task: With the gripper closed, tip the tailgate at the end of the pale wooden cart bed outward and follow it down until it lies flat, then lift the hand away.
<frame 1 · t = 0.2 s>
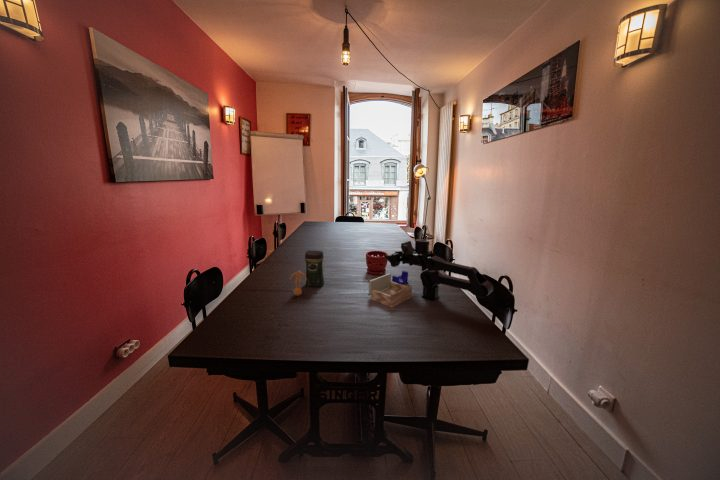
hand: (389, 254, 157), 17 cm above the table, tool horizontal, fingers open, 9 cm apart
figurine: (298, 294, 144), on the table
plant pot: (376, 272, 178), on the table
tailgate: (379, 284, 145), point 5 cm above the table, hinge at 0.0°
cart bed: (390, 298, 142), on the table
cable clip: (398, 284, 162), on the table
coffee jar: (314, 284, 157), on the table
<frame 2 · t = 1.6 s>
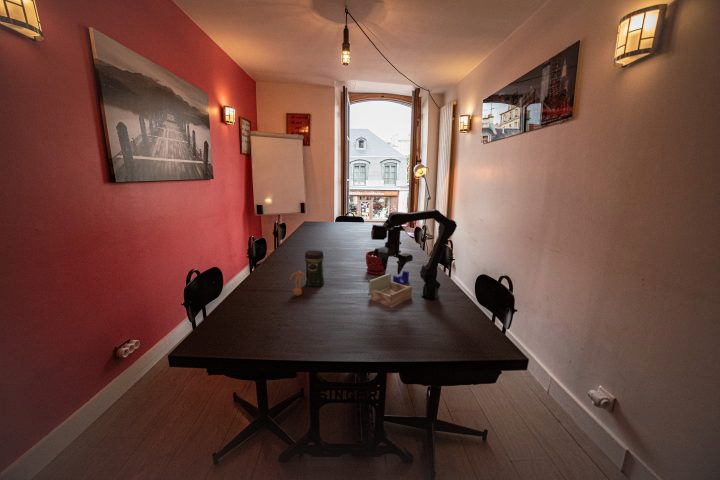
hand: (391, 272, 139), 13 cm above the table, tool pointing down, fingers open, 8 cm apart
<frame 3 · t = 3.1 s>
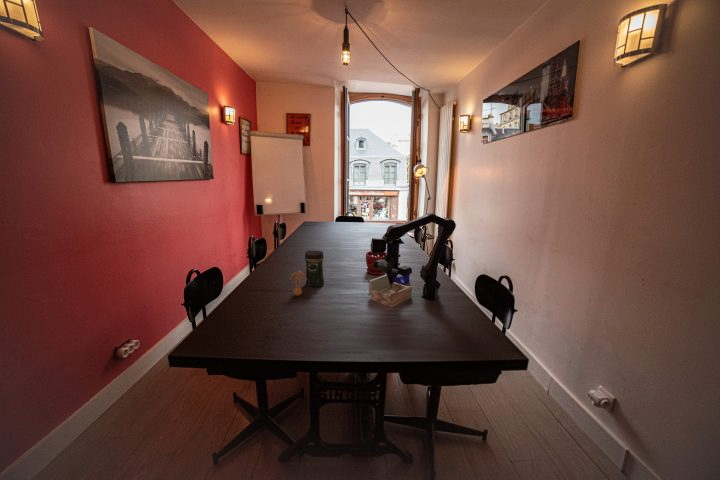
hand: (391, 284, 140), 7 cm above the table, tool pointing down, fingers closed
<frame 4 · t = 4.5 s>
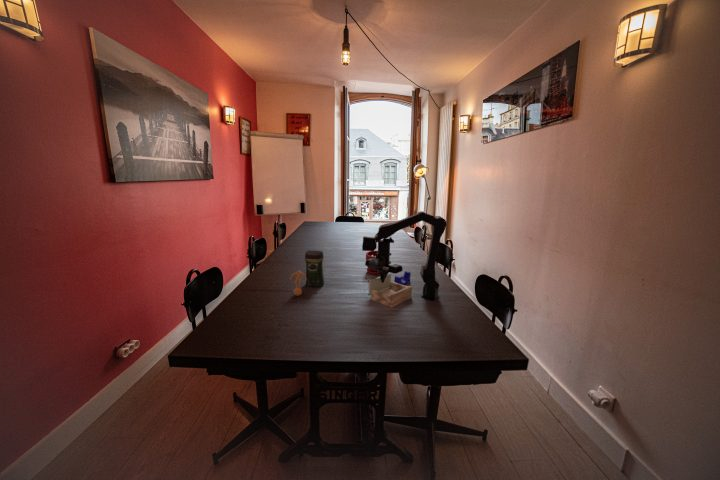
hand: (382, 282, 144), 7 cm above the table, tool pointing down, fingers closed
tailgate: (379, 284, 145), point 5 cm above the table, hinge at 1.7°, touching gripper
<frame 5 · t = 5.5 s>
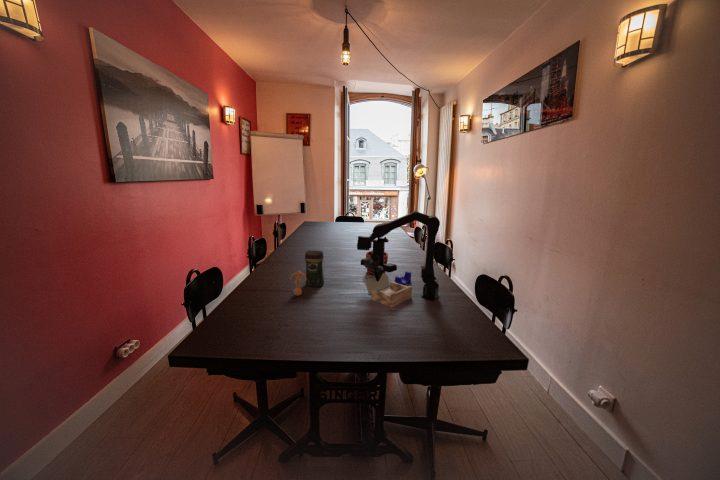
hand: (377, 281, 146), 6 cm above the table, tool pointing down, fingers closed, pressing on tailgate
tailgate: (377, 283, 146), point 5 cm above the table, hinge at 27.9°, touching gripper
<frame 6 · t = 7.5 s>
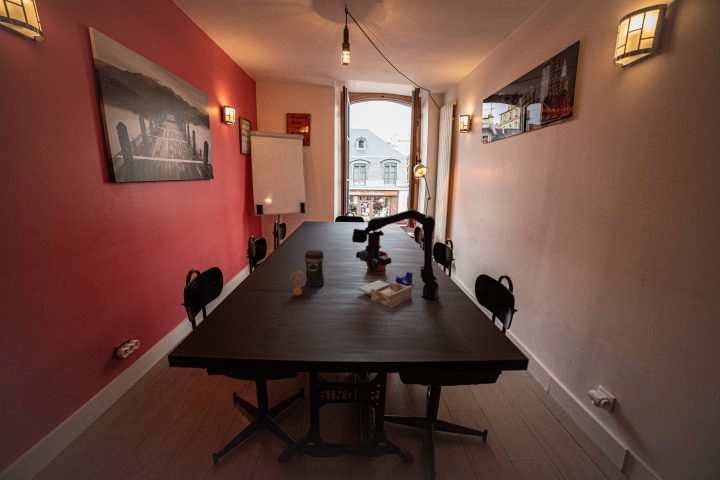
hand: (372, 274, 148), 9 cm above the table, tool pointing down, fingers closed
tailgate: (374, 287, 148), point 2 cm above the table, hinge at 86.6°
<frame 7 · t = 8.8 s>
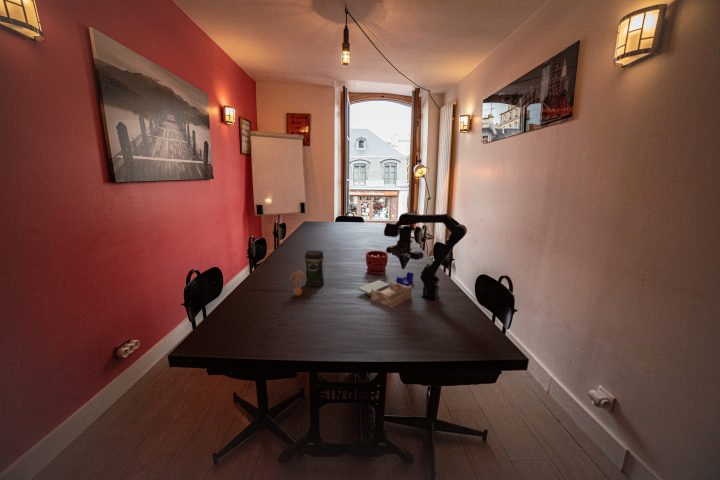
hand: (403, 268, 148), 12 cm above the table, tool pointing down, fingers closed
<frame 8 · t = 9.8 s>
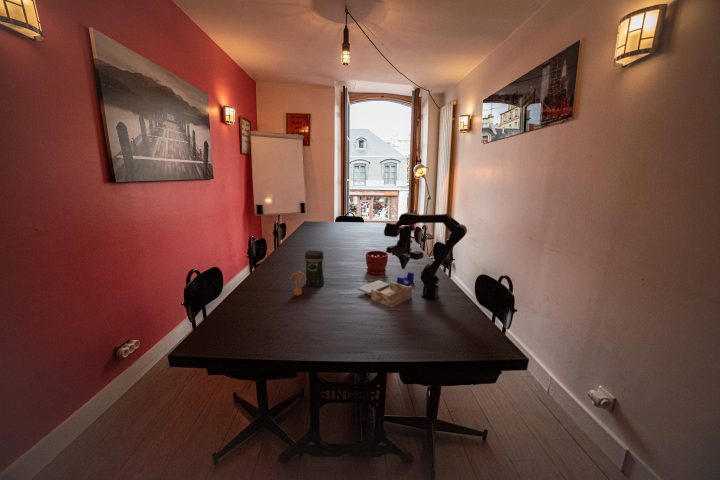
hand: (403, 268, 148), 12 cm above the table, tool pointing down, fingers closed
at the end: tailgate at +87° (first picture: +0°); the gripper is holding nothing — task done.
